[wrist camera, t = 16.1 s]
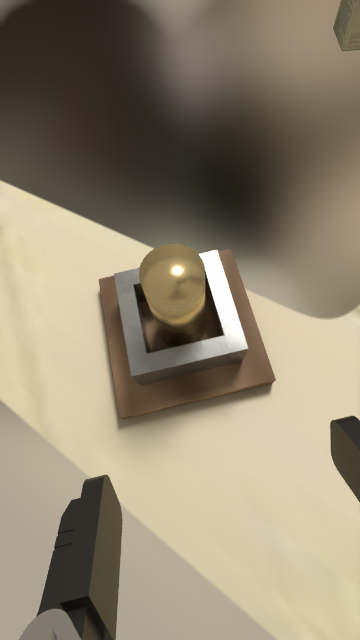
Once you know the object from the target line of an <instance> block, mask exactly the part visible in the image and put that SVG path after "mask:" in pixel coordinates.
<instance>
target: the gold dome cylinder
mask: <svg viewBox="0 0 360 640" xmlns="http://www.w3.org/2000/svg"><path fill="white" fill-rule="evenodd" d="M139 279H140V283H141V285H142V288H143V291H144V293H145V296H146V299H147V302H148V304H149V307H150V310H151V312H152V315H153V318H154V320H155V323H156V326H157V328H158V331H159V334H160V336H161V338H162V339H163V341H164V342H165V343H167V344H168V345H170V346H172V347H178V346H182V345H186V344H190V343H195V342H198V341H199V340H200V339H201V337H202V335H203V333H204V329H205V266H204V262H203V260H202V258H201V257H200V255H199V254H198V253H197V252H196V251H195V250H193V249H192V248H190V247H188V246H185V245H181V244H166V245H162V246H160V247H157V248H155V249H154V250H152V251H151V252H149V253H148V254H147V255H146V257H145V258H144V259H143V261H142V263H141V265H140V269H139Z"/></svg>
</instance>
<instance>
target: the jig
mask: <svg viewBox="0 0 360 640" xmlns="http://www.w3.org/2000/svg"><path fill="white" fill-rule="evenodd" d="M199 255H200V257H201V258H202V260H203V262H204V266H205V329H204V333H203V335H202V337H201V339H200V340H199V341H198V342H195V343H190V344H186V345H182V346H178V347H172V346H170V345H168V344H167V343H165V342H164V341H163V339H162V338H161V336H160V334H159V331H158V328H157V326H156V323H155V320H154V318H153V315H152V312H151V310H150V307H149V304H148V302H147V299H146V296H145V293H144V291H143V288H142V285H141V283H140V279H139V269H140V268H137V269H133V270H128V271H124V272H120V273H115V274H114V276H111V277H106V278H102V279H99V285H100V292H101V299H102V305H103V312H104V319H105V325H106V332H107V339H108V346H109V352H110V359H111V366H112V372H113V379H114V386H115V393H116V399H117V406H118V413H119V418H121V419H126V418H130V417H134V416H138V415H143V414H147V413H151V412H155V411H159V410H163V409H167V408H172V407H176V406H180V405H184V404H188V403H192V402H196V401H201V400H205V399H209V398H213V397H217V396H221V395H225V394H230V393H234V392H238V391H242V390H246V389H250V388H254V387H259V386H263V385H267V384H271V383H273V382H274V381H275V380H276V379H275V376H274V373H273V370H272V368H271V365H270V362H269V359H268V356H267V353H266V350H265V347H264V344H263V341H262V338H261V335H260V332H259V329H258V326H257V324H256V321H255V318H254V315H253V312H252V309H251V306H250V303H249V300H248V297H247V294H246V291H245V288H244V285H243V282H242V280H241V277H240V274H239V271H238V268H237V265H236V262H235V259H234V256H233V253H232V250H231V249H227V250H223V251H219V252H217V250H215V251H211V252H206V253H202V254H199Z"/></svg>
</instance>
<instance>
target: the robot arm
mask: <svg viewBox="0 0 360 640" xmlns="http://www.w3.org/2000/svg"><path fill="white" fill-rule="evenodd" d="M330 431H331V455H332V459H333V462H334V464H335V466H336V468H337V470H338V471H339V473H340V474H341V476H342V477H343V479H344V480H345V482H346V483H347V485H348V486H349V487H350V489H351V490H352V492H353V493H354V495H355V496H356V498H357V499H358V500H359V502H360V421H359V419H358V418H356V417H355V416H349V417H345V418H341V419H336V420H332V421H331V423H330ZM121 536H122V513H121V506H120V503H119V500H118V498H117V495H116V493H115V491H114V488H113V486H112V483H111V481H110V478H109V476H108V475H103V476H98V477H94V478H90V479H86V480H85V481H84V484H83V488H82V493H81V498H79V499H74V500H71V502H70V503H69V505H68V507H67V508H66V510H65V512H64V513H63V515H62V517H61V522H60V526H59V530H58V536H57V538H56V542H55V546H54V548H55V550H54V551H53V555H52V559H51V563H50V567H49V571H48V575H47V580H46V583H45V588H44V592H43V596H42V600H41V604H40V608H39V611H38V614H37V616H36V618H35V619H34V620H33V621H32V622H31V623H30V624H29V625H28V626H27V628H26V629H25V630H24V632H23V634H22V635H21V637H20V639H19V640H115V639H116V621H117V605H118V604H117V603H118V588H119V571H120V570H119V569H120V553H121Z"/></svg>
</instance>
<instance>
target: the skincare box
mask: <svg viewBox="0 0 360 640" xmlns="http://www.w3.org/2000/svg"><path fill="white" fill-rule="evenodd" d="M333 29H334V32H335V35H336V37H337V40H338V43H339V45H340V47H341V49H342V51H349V50H359V49H360V0H341V2H340V6H339V9H338V13H337V16H336V19H335V23H334V27H333Z"/></svg>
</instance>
